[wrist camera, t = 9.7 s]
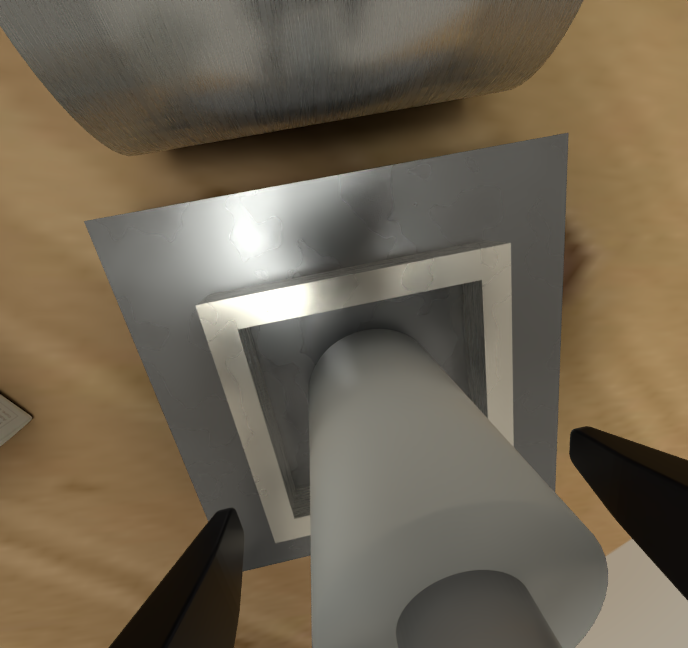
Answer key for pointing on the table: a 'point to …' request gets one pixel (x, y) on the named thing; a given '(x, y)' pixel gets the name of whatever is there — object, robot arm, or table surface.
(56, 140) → the table surface
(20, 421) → the supplement box
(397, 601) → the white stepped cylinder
